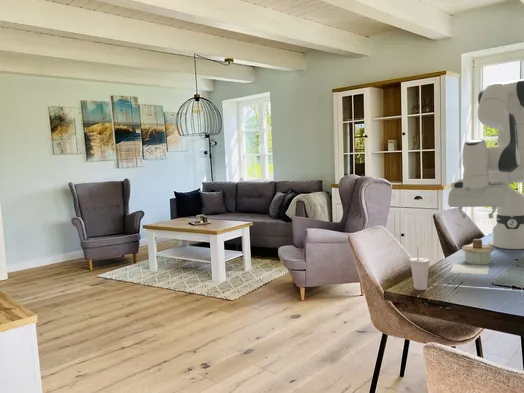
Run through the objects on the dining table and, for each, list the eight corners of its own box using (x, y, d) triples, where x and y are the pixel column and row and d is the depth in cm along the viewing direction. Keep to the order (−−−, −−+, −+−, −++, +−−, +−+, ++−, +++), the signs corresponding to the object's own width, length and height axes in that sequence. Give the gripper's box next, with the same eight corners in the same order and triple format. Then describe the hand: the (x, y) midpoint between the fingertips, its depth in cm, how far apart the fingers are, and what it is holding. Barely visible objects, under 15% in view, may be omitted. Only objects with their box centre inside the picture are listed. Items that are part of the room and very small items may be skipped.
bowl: (466, 259, 180) (465, 247, 179) (491, 260, 175) (491, 248, 175) (464, 264, 172) (463, 252, 171) (490, 266, 167) (490, 253, 167)
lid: (463, 246, 180) (462, 236, 180) (493, 247, 175) (493, 237, 175) (460, 252, 171) (460, 242, 171) (493, 253, 166) (493, 243, 165)
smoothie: (406, 287, 148) (404, 246, 147) (420, 284, 151) (418, 243, 150) (421, 292, 142) (419, 249, 141) (435, 288, 145) (433, 246, 144)
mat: (453, 265, 171) (453, 264, 171) (488, 267, 165) (488, 266, 165) (450, 273, 161) (450, 272, 161) (487, 276, 155) (487, 274, 155)
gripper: (506, 180, 168) (507, 216, 170) (448, 182, 178) (450, 216, 180) (507, 182, 163) (507, 219, 164) (446, 184, 173) (448, 219, 174)
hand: (477, 218), depth 172 cm, fingers open, 8 cm apart
